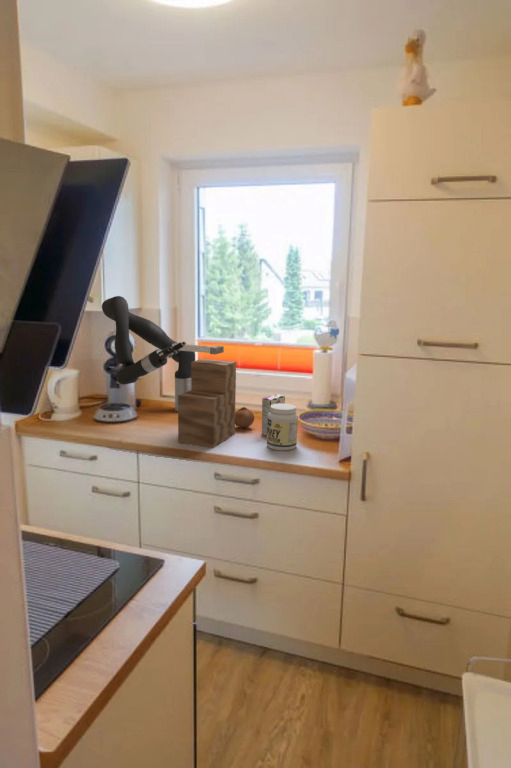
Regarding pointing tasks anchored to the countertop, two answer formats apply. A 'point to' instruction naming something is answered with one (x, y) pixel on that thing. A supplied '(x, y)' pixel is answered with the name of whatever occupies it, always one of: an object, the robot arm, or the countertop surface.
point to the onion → (244, 418)
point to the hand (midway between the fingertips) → (183, 343)
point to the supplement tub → (282, 427)
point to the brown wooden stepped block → (208, 404)
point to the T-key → (202, 348)
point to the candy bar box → (266, 408)
